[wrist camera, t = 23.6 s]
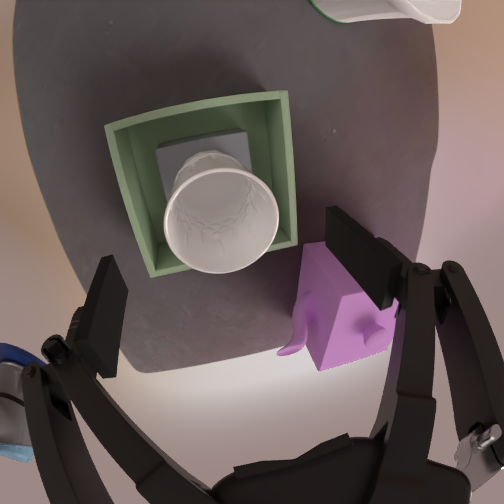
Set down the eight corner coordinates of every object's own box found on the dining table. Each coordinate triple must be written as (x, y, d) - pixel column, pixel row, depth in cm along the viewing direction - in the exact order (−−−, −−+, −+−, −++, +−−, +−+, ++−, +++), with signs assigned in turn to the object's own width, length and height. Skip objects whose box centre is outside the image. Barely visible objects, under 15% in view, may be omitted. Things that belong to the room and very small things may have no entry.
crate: (154, 246, 34) (150, 278, 29) (120, 119, 25) (103, 125, 20) (279, 219, 36) (297, 245, 31) (267, 91, 27) (287, 90, 22)
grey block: (175, 216, 32) (174, 231, 29) (158, 143, 27) (154, 149, 24) (249, 200, 33) (257, 213, 30) (239, 127, 28) (247, 131, 25)
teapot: (254, 249, 38) (287, 322, 26) (396, 233, 43) (450, 280, 31) (253, 326, 46) (276, 396, 34) (376, 300, 51) (414, 351, 39)
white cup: (256, 204, 29) (287, 253, 21) (185, 228, 29) (188, 287, 20) (237, 133, 25) (265, 152, 16) (159, 159, 24) (145, 192, 16)
